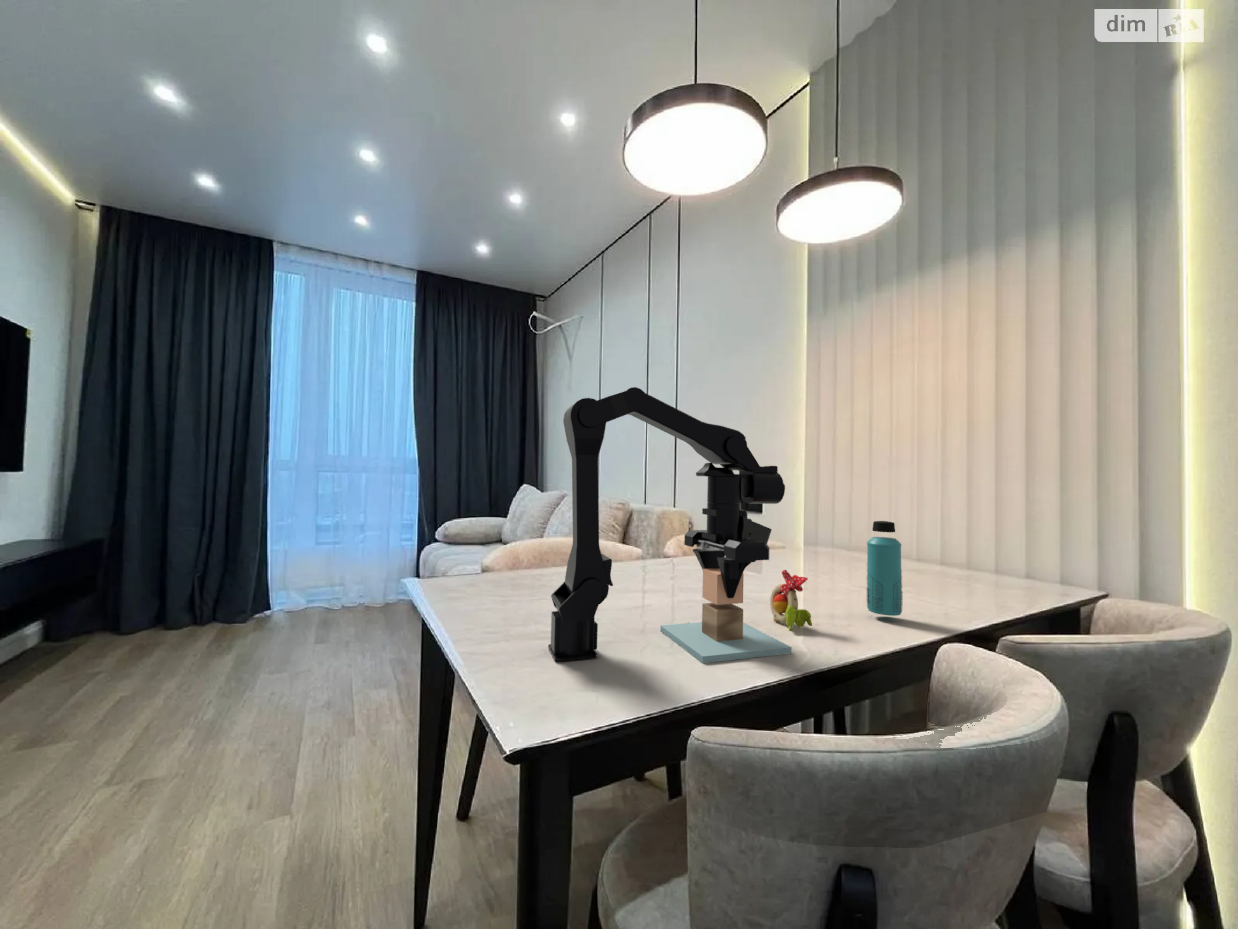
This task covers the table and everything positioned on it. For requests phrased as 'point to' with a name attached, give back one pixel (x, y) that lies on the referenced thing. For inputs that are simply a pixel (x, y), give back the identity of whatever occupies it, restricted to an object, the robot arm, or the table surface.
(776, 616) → the bird rattle
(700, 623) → the board
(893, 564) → the beverage bottle
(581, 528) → the robot arm
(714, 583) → the terracotta cube
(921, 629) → the table surface
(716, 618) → the walnut cube
